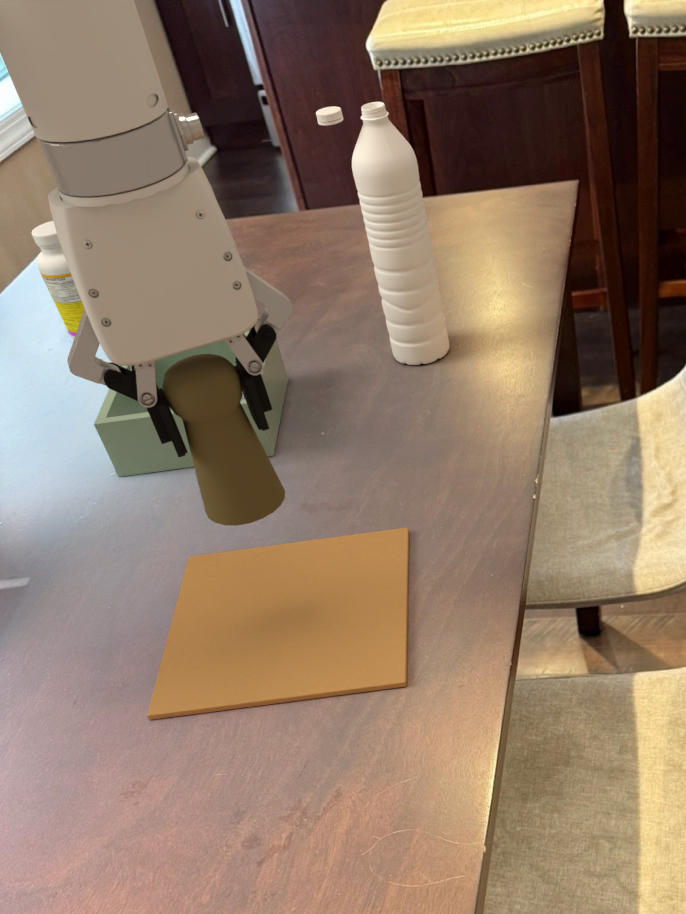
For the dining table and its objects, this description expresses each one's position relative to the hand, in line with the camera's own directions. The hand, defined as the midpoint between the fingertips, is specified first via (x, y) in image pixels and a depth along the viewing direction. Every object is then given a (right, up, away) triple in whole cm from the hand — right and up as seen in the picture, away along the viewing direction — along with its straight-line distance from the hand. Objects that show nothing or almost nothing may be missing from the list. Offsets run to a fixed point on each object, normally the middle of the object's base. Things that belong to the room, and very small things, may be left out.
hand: (219, 432), depth 71 cm
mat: (+2, -12, +13) cm, 17 cm away
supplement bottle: (-33, +28, +55) cm, 70 cm away
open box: (-13, +11, +36) cm, 40 cm away
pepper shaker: (+1, -4, +4) cm, 6 cm away
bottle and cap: (+8, +21, +43) cm, 48 cm away
